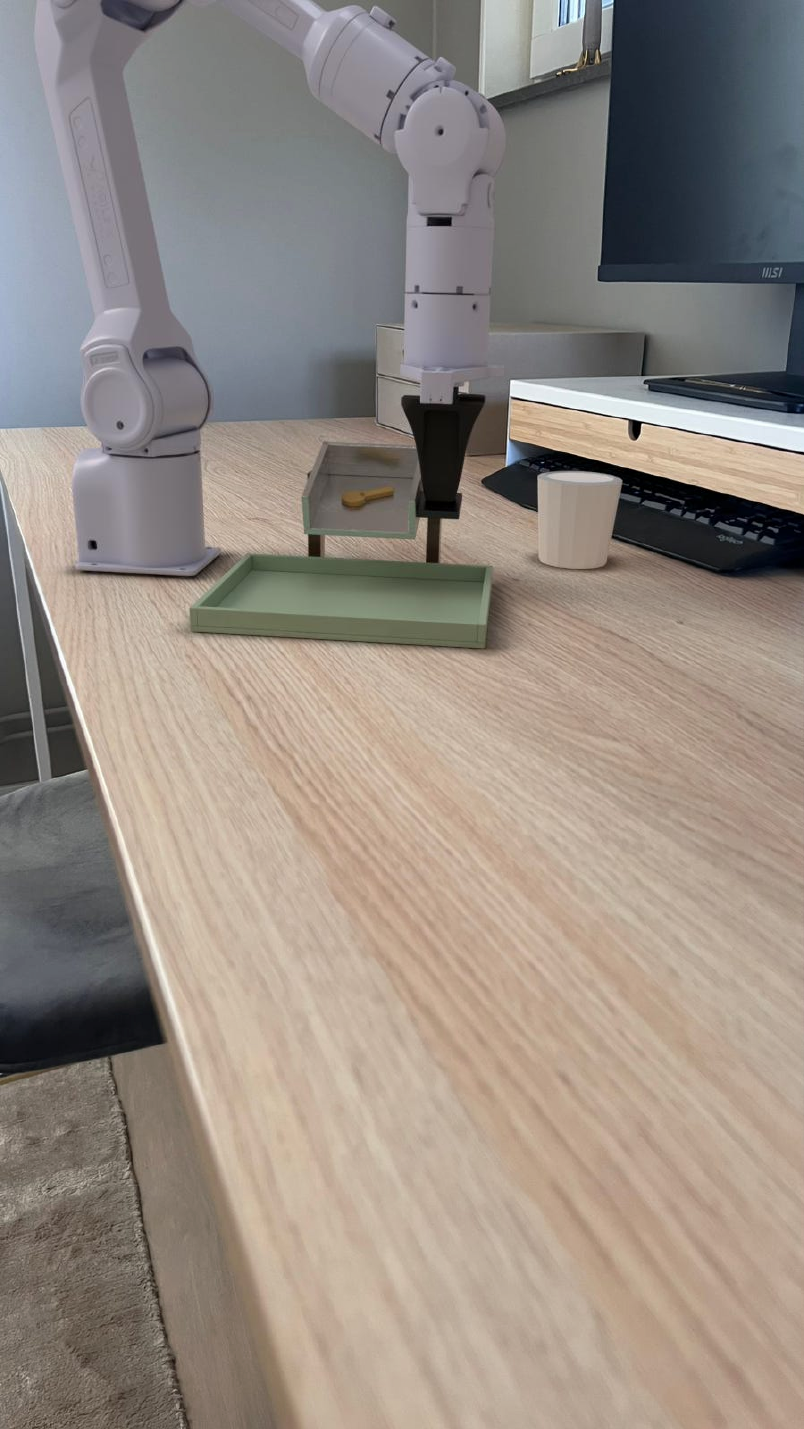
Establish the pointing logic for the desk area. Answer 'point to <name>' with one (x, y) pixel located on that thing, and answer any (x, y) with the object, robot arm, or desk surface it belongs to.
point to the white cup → (576, 518)
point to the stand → (432, 548)
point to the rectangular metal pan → (364, 472)
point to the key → (364, 496)
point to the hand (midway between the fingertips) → (440, 500)
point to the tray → (349, 600)
